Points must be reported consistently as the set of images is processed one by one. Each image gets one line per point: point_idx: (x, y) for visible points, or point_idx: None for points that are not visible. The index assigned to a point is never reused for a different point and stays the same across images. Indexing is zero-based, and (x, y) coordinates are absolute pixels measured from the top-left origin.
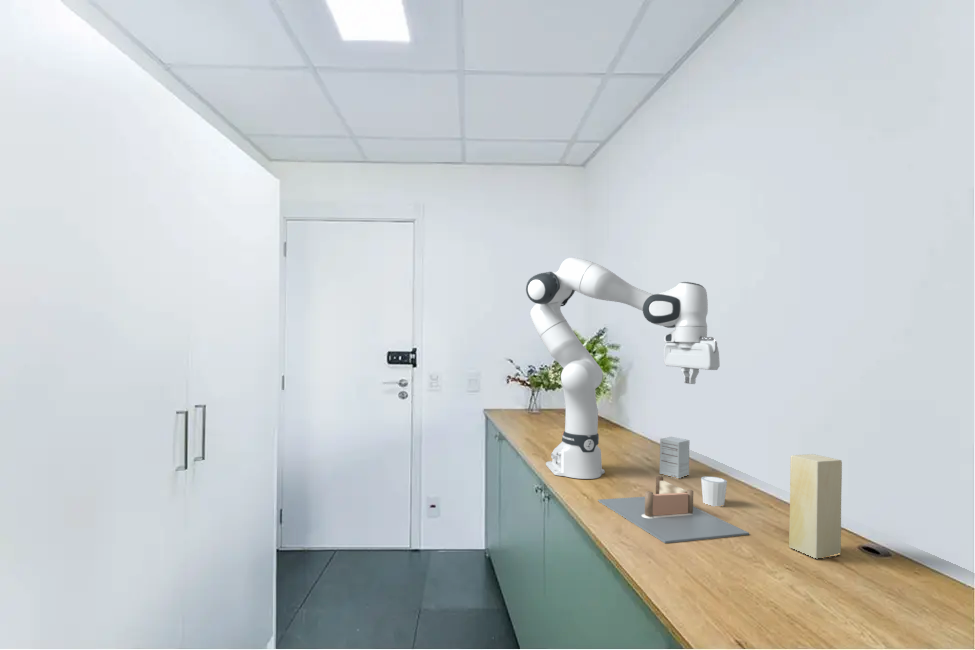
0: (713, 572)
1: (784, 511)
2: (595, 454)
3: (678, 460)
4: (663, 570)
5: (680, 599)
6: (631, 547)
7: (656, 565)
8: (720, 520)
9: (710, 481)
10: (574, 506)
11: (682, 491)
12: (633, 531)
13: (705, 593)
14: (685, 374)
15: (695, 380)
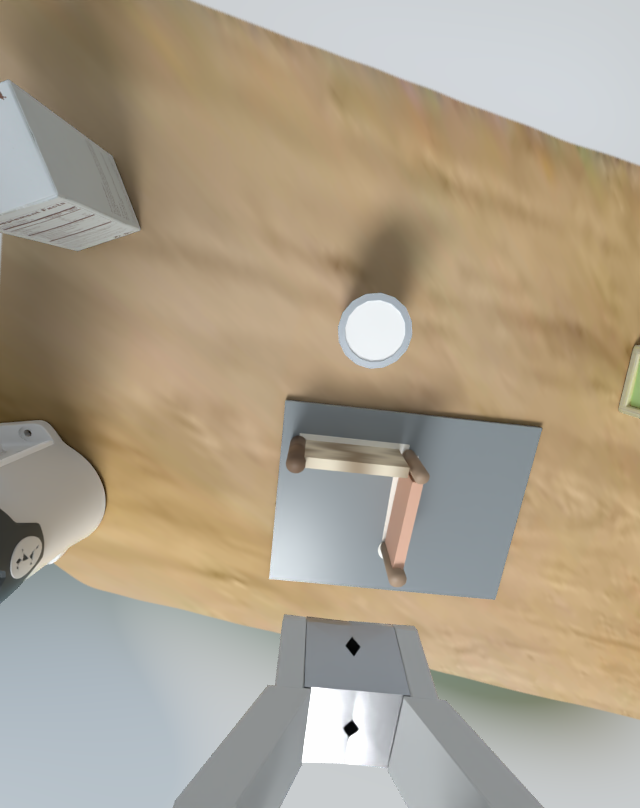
0: (600, 603)
1: (483, 181)
2: (40, 507)
3: (106, 216)
4: (559, 657)
5: (621, 687)
6: (480, 650)
7: (543, 656)
8: (468, 426)
9: (388, 362)
10: None
11: (396, 476)
12: (430, 609)
13: (630, 653)
14: (275, 806)
15: (427, 663)
